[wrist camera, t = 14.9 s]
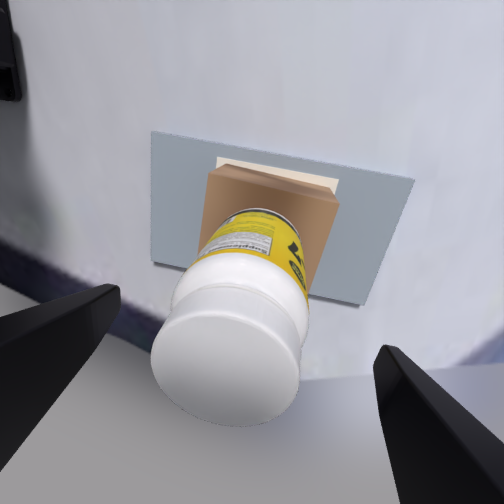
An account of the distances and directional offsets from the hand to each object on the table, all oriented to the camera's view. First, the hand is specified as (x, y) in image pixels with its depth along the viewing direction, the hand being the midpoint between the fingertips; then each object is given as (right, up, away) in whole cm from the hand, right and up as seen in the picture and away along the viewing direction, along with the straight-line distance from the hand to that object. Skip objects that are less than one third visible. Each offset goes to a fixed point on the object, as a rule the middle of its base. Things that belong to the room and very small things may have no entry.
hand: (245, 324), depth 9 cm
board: (+1, +4, +10) cm, 11 cm away
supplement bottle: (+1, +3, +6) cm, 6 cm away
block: (+1, +4, +9) cm, 10 cm away
